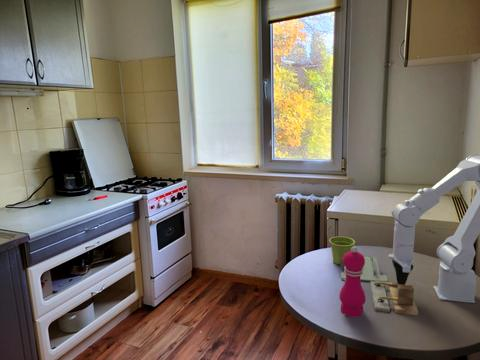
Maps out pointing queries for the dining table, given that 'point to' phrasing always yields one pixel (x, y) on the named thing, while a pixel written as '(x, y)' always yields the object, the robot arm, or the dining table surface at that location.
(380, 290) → the bolt strip
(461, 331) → the dining table surface
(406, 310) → the trammel beam
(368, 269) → the metal bracket
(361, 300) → the pepper mill
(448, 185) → the robot arm
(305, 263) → the dining table surface
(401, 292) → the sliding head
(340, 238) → the plant pot
